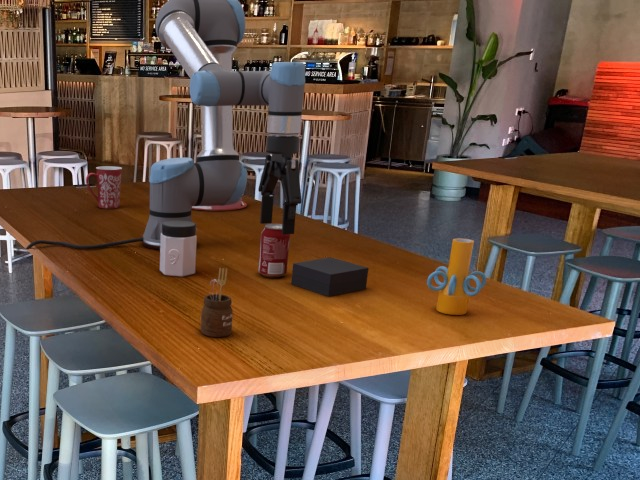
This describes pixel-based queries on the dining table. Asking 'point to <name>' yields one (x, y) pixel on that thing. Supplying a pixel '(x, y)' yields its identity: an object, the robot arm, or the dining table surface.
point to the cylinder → (456, 279)
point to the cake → (222, 207)
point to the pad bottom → (328, 286)
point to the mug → (107, 186)
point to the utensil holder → (217, 312)
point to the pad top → (330, 271)
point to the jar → (178, 248)
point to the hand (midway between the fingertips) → (276, 228)
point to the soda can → (273, 251)
